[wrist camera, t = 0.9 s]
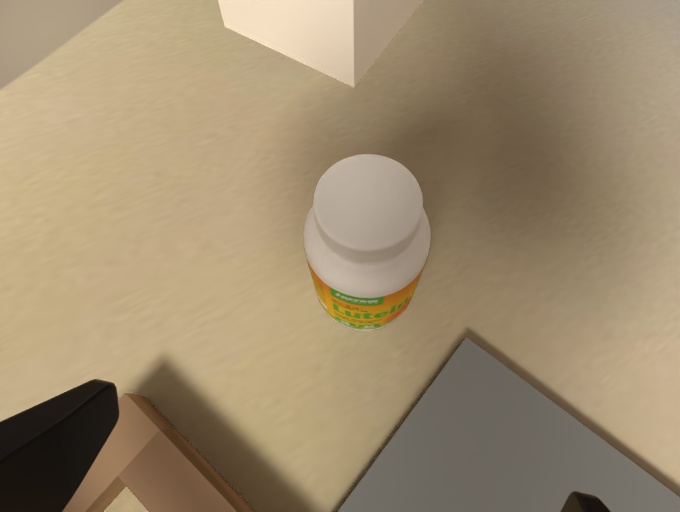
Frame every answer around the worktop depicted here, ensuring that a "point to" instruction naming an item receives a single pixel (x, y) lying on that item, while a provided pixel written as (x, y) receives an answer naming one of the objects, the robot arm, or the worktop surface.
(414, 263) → the supplement bottle
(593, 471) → the slate mat
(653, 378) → the worktop surface
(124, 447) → the hole board
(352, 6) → the milk
